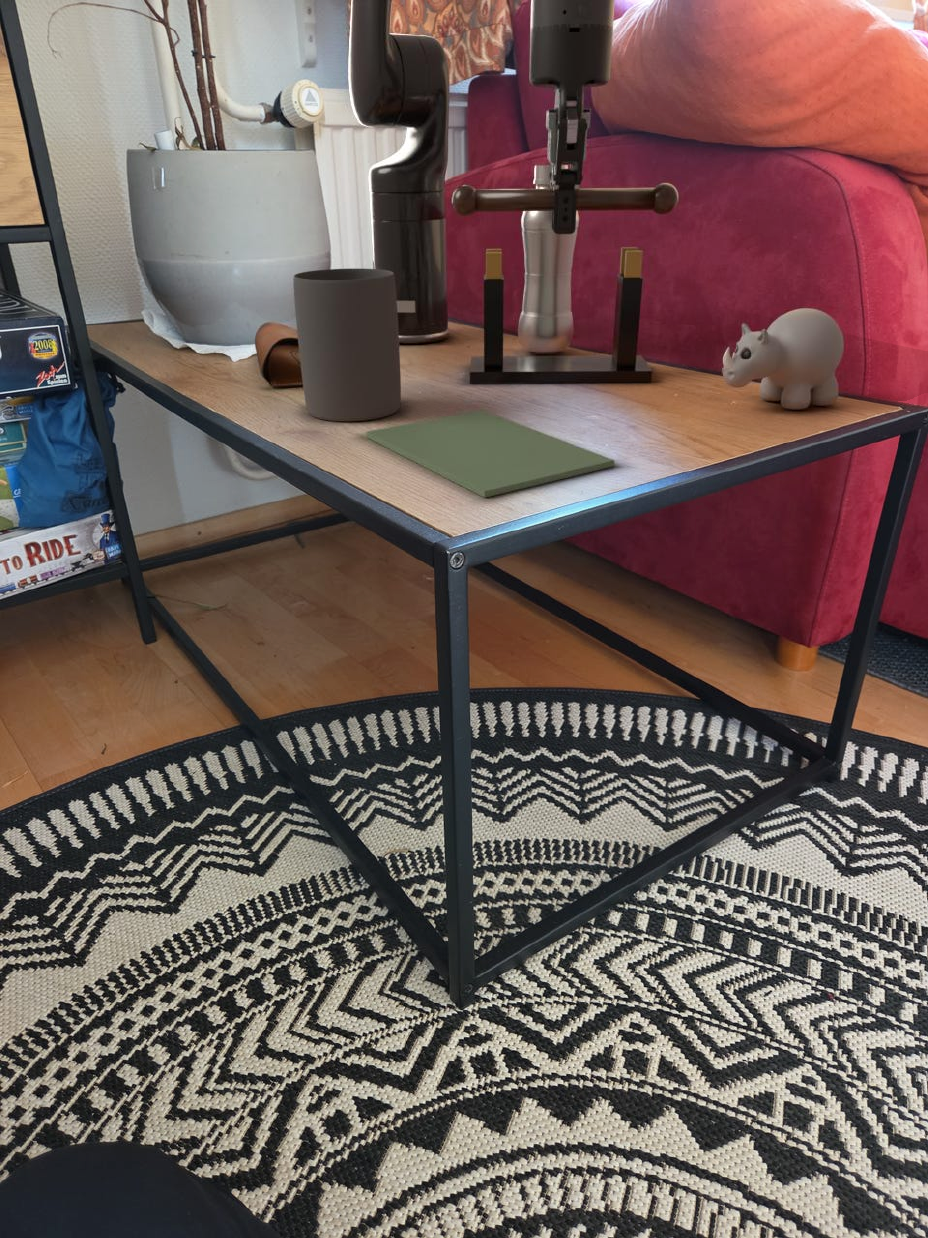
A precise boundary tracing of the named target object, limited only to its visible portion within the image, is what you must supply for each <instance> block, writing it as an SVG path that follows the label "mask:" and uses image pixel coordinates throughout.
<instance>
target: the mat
mask: <svg viewBox="0 0 928 1238" xmlns="http://www.w3.org/2000/svg"><path fill="white" fill-rule="evenodd" d="M365 436H366V438H367V439H369V440H371V441H373V442H375V443H376V444H379V445H381V446H383V447H385V448H386V449H388V450H390V451H392V452H394V453H396V454H398V455H400V456H402V457H404V458H406V459H407V460H410V461H411V462H414V463H416V464H418V465H419V466H421V467H424V468H425V469H428V470H429V471H431V472H433V473H435V474H437V475H440V476H442V477H443V478H445V479H447V480H449V481H451V482H453V483H455V484H457V485H459V486H461V487H462V488H464V489H466V490H469V491H470V492H473V493H474V494H476V495H478V496H480V497H482V498H483V499H487V498H490V497H493V496H497V495H502V494H506V493H512V492H515V491H519V490H522V489H526V488H531V487H535V486H538V485H543V484H547V483H551V482H556V481H559V480H563V479H569V478H572V477H576V476H580V475H584V474H588V473H592V472H596V471H600V470H604V469H608V468H612V467H615V459H612V458H609V457H607V456H603V455H602V454H599V453H596V452H594V451H591V450H588V449H586V448H582V447H580V446H577V445H575V444H572V443H570V442H567V441H564V440H562V439H559V438H557V437H555V436H551V435H549V434H545V433H543V432H541V431H538V430H536V429H533V428H530V427H528V426H525V425H522V424H520V423H517V422H515V421H511V420H509V419H506V418H504V417H501V416H499V415H497V414H494V413H490V412H488V411H486V410H477V411H471V412H465V413H461V414H454V415H449V416H445V417H438V418H434V419H429V420H423V421H417V422H412V423H406V424H400V425H396V426H390V427H385V428H379V429H375V430H369V431H366V432H365Z"/></svg>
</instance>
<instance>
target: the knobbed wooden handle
mask: <svg viewBox="0 0 928 1238" xmlns="http://www.w3.org/2000/svg"><path fill="white" fill-rule="evenodd" d="M574 192H577V208H576V211H578V212H592V211H593V212H596V211H597V212H599V211H602V212H603V211H604V212H605V211H653V213H655V214H658V215H667V214H670V213H671V212H672V211H673V210H675V208H676V207H677V205H678V202H679V192H678V190H677V188H676V187H675V186H674V185H673V184H671V183H669V182H663V183H662V182H661V183H659V184H657V185H655V187H584V188H583V187H582V188H581V187H579V191H574ZM451 205H452V207H453V210H454V211H455V212H456V213H457V214H458V215H460V216H462V217H470V216H472V215H474V214H475V213H476V212H477V213H480V212H481V213H483V212H484V213H486V212H489V213H490V212H491V213H492V212H496V213H497V212H498V213H499V212H523V211H554V189H536V188H480V189H479V188H477V189H476V188H475V187H474V186H472V185H470V184H463V185H460V186H458V187H457V188H456V189H455V190H454V191H453V193H452V197H451Z"/></svg>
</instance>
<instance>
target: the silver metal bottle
mask: <svg viewBox="0 0 928 1238" xmlns="http://www.w3.org/2000/svg"><path fill="white" fill-rule="evenodd" d="M561 169H569V164H562V165H561ZM550 173H551V164H550V165H549V164H548V165H547V164H543V165H541V164H540V165H534V175H533V176H534V179H533V185H535V189H552V188H551V186H550V181H551V178H550ZM520 222H521V224H520V225H521V226H520V227H521V235H522V245H523V253H524V254H523V255H524V256H523V257H524V258H523V259H524V271H525V272H524V287H523V294H522V295H523V296H522V305H521V307H522V308H521V310H522V311H521V312H520V316H519V319H518V327H517V337H518V342H519V344H520V346H521V348H522V349H523V350H524V351H527V352H532V353H536V354H540V355H550V354H553V353H559V352H562V351H563V352H564V351H566V350H567V349H568V348H569V347H570V345H571V344H572V341H573V337H574V336H573V335H574V332H575V331H574V330H575V329H574V328H575V327H574V317H573V312H572V268H573V261H574V252H575V247H576V243H577V237H578V231H579V230H578V228H579V226H580V225H579V223H580V215H579V211H576V229H575V232H574V233H573V234H556V233H554V231H553V230H552V227H551V224H552V211H522V215H521V218H520Z"/></svg>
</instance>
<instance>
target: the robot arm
mask: <svg viewBox="0 0 928 1238" xmlns="http://www.w3.org/2000/svg"><path fill="white" fill-rule="evenodd" d="M615 1H616V0H530V32H529V33H530V34H529V76H528V77H529V78H528V79H529V83H530V85H531V86H533V87H534V88H542V89H543V88H544V89H549V88H550V89H553V91H554V93H555V95H554V108H551V109H550V108H548V109H547V110H546V118H545V119H546V120H545V128H546V131H548V132H547V133H548V136H547V161H548V163H549V164H550V165H551V173H550V178H551V181H550V186H551V188H552V189H554V211H552V224H551V227H552V230H553V231H554V233H556V234H573V233H574V232H575V229H576V208H577V192H574V191H579V188H581V184H582V181H583V178H584V177H583V175H584V174H583V165H584V162H586V159H587V140H588V139H587V138H588V137H587V136H588V130H589V128H590V126H591V108H584V89H585V88H596V87H603V86H606V85H607V84H608V83H609V82H610V79H611V71H612V69H611V67H612V55H613V54H612V52H613V38H614V37H613V35H614V20H615V19H614V17H615V4H616V3H615ZM350 6H351V7H350V27H349V28H350V29H349V40H348V41H349V44H348V45H349V46H348V90H349V97H350V98H349V99H350V104H351V108H352V111H353V114H354V117H355V118H356V119H357V121H358V122H359V123H360V125H362V126H363V127H367V128H377V129H378V128H380V129H381V128H383V129H406V137H405V142H404V143H403V146H402V147H401V148H400V149H399V150H398V151H397V152H396V153H395V154H393V155H391V156H390V157H388V158H386V159H384V160H381V161H380V162H377V163H375V164H374V165H372V166H371V167H370V168H369V172H368V187H369V203H370V217H371V218H370V220H371V234H372V235H371V236H372V248H373V249H372V251H373V253H372V254H373V259H372V269H380V270H387V271H391V272H393V273H394V277H395V285H396V297H397V313H398V331H399V344H425V343H434V342H439V341H443V340H445V339H448V338H449V337H450V329H449V328H450V327H449V316H448V315H449V314H448V308H449V307H448V302H449V301H448V262H447V261H448V260H447V221H446V220H447V219H446V191H445V190H446V174H447V170H448V169H447V168H448V161H449V124H450V123H449V122H450V120H449V119H450V87H451V86H450V85H451V84H450V71H449V70H450V69H449V63H448V58H447V55H446V52H445V49H444V47H443V46H442V44H441V42H440V41H439V40H438V39H437V38H435V37H434V36H430V35H423V34H406V33H391V19H392V18H391V17H392V6H393V0H351V5H350ZM561 165H569V168H568V169H561Z"/></svg>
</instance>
